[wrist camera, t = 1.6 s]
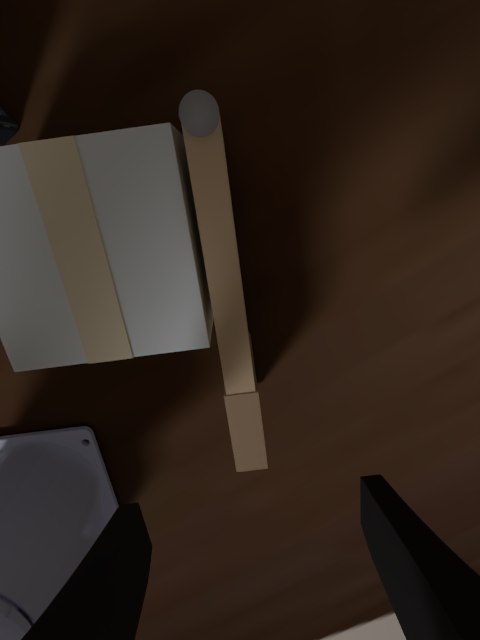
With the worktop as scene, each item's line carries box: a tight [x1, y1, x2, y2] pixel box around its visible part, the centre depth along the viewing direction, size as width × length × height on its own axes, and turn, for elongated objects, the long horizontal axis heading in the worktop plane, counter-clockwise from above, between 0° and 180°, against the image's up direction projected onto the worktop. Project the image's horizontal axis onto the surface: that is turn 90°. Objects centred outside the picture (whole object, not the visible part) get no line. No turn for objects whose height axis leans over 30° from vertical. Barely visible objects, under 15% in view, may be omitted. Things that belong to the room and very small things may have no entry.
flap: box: [179, 90, 268, 472], centre depth 16 cm, size 15×1×7 cm, turn 7°
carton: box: [0, 122, 214, 372], centre depth 15 cm, size 8×8×6 cm
